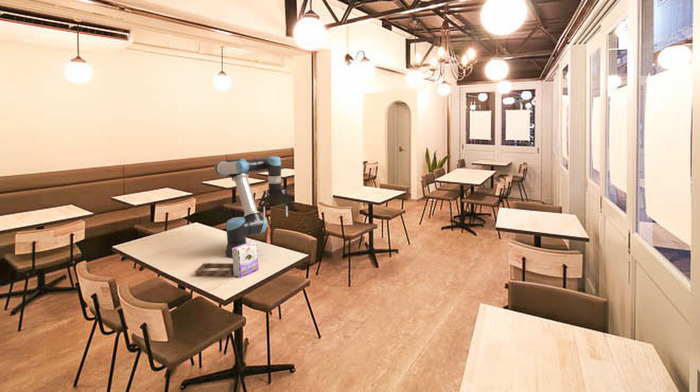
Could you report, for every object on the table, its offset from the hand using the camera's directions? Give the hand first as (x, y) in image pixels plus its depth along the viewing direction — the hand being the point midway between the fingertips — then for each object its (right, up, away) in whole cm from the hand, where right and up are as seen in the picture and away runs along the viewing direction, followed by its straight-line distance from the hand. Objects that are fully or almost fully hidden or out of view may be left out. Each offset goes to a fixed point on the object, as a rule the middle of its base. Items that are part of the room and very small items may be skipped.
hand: (275, 216), depth 242 cm
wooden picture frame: (-31, -31, -15) cm, 46 cm away
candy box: (-14, -32, -15) cm, 38 cm away
